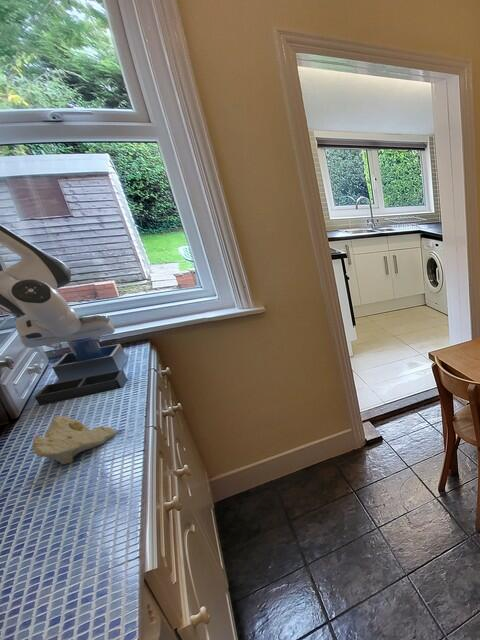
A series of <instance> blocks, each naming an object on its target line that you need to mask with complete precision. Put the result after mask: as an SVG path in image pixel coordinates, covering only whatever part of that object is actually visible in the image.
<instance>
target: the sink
mask: <svg viewBox="0 0 480 640" xmlns="http://www.w3.org/2000/svg"><path fill="white" fill-rule="evenodd" d="M100 347H101V349H102V351H103V354H104V356H105V357H101V358H95V359H90V360H85V361H79V362H77V361H76V359H75V357H74V355H73V353H72V351H71V352H67V353H66V352H65V353H64V354H63V355H62V356H61V357H60V359H58V360H57V361H56V362H55V363H54V365H52V366H51V368H52V370H53V371H54V374H55V376H56V377H57V379H58V381H59V382H64V381H69V380H74V379H79V378H84V377H89V376H94V375H99V374H104V373H109V372H114V371H119V370H123V369H124V367H125V365H126V363H127V362H128V360H127V359H128V357H127V355H126V353H125V351H124V348H123V345H122V343H117V344H116V343H115V344H112V345H105V346H100Z"/></svg>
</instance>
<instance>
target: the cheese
mask: <svg viewBox="0 0 480 640" xmlns="http://www.w3.org/2000/svg"><path fill="white" fill-rule="evenodd" d="M116 434H117V432H116V429H115V428H112V427H110V426H103V425H100V426H96V427H93V428H92V429H90V428H88V427H87V426H86V425H85V424H84V423H83V422H82V421H80V420H79V419H76V418H70V417H69V416H66V415H65V416H64V415H60V416H59V415H58V416H54V418H53V419H52V420H51V424H50V425H49V427H48V428H47V429H46V431H45V433H44V436H40V434H39V432H35V435H36V436H34V437H33V438H32V439H33V442H32V450H33V453H34V454H35V455H36V456H37V457H42V458H48V459H53V460H55V461H56V462H57V461H58V462H60V464H61V465H67V464H70V463H72V462H73V461H74V458H75V457H76V456H77V455H78V454H80V453H82V452H84V451H88V450H91V449H95V448H97V447H98V446H101V445H103V444H104V443H105V442H107V441H109V440H110V439H111V438H113V437H114V436H116Z"/></svg>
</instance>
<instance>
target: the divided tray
mask: <svg viewBox="0 0 480 640" xmlns="http://www.w3.org/2000/svg"><path fill="white" fill-rule="evenodd" d="M127 381H128V378H127V375H126V374H125V372H124V369H122V370H119V371H114V372H109V373H104V374H99V375H94V376H89V377H84V378H79V379H74V380H69V381H64V382H60V381H59V382H54V383H50V384H45V385H44V386H43V387H42V388H41V389H40V390H39V392H38V393H37V394H35V396H34V399H35V401H36V402H37V404H38V405H39V407H41V406H47V405H51V404H55V403H60V402H64V401H69V400H73V399H79V398H83V397H87V396H92V395H97V394H102V393H106V392H111V391H116V390H119V389H123V388H124V387H125V385H126V384H127Z"/></svg>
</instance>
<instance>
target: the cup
mask: <svg viewBox="0 0 480 640" xmlns="http://www.w3.org/2000/svg"><path fill="white" fill-rule="evenodd" d="M66 343H67V346H68V347H69V349H70V351H71V352H72V353H73V355H74V357H75V359H76V361H77V362H79V361H85V360H90V359H95V358H101V357H105V356H104V354H103V351H102V349H101V347H102V346H100V342H96V341H95V340H94V337H92V338H87V339H81V340H75V341H70V342H66Z"/></svg>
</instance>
